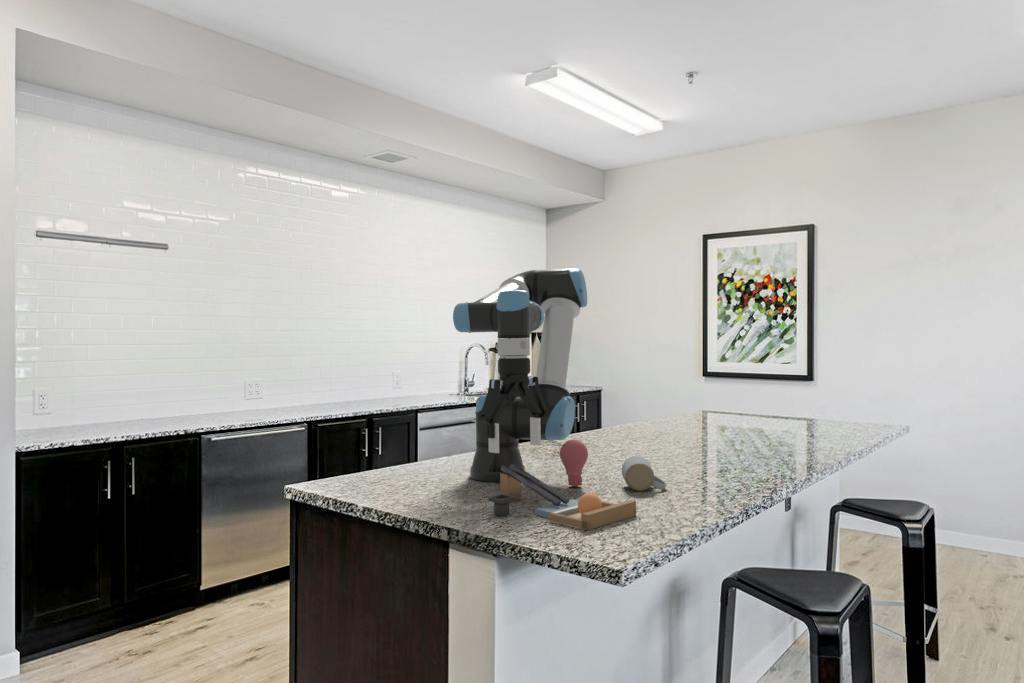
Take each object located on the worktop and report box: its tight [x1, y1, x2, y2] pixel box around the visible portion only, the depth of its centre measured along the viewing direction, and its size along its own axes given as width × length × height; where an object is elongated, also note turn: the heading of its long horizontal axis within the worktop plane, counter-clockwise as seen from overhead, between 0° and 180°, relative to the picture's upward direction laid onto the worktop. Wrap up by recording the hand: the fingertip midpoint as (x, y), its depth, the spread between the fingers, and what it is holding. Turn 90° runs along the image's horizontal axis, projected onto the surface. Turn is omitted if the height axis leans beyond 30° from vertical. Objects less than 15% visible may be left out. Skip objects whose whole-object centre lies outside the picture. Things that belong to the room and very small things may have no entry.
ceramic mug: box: [621, 455, 667, 492], centre depth 168 cm, size 11×8×8 cm
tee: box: [487, 494, 515, 517], centre depth 144 cm, size 4×4×4 cm
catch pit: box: [549, 499, 637, 532], centre depth 140 cm, size 10×16×3 cm, turn 135°
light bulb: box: [559, 439, 589, 488], centre depth 171 cm, size 7×7×12 cm
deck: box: [534, 499, 579, 519], centre depth 146 cm, size 6×12×1 cm, turn 134°
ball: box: [577, 492, 602, 514], centre depth 140 cm, size 5×5×5 cm
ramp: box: [499, 463, 570, 506], centre depth 152 cm, size 18×4×8 cm, turn 44°
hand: (515, 448), depth 157 cm, fingers open, 13 cm apart
